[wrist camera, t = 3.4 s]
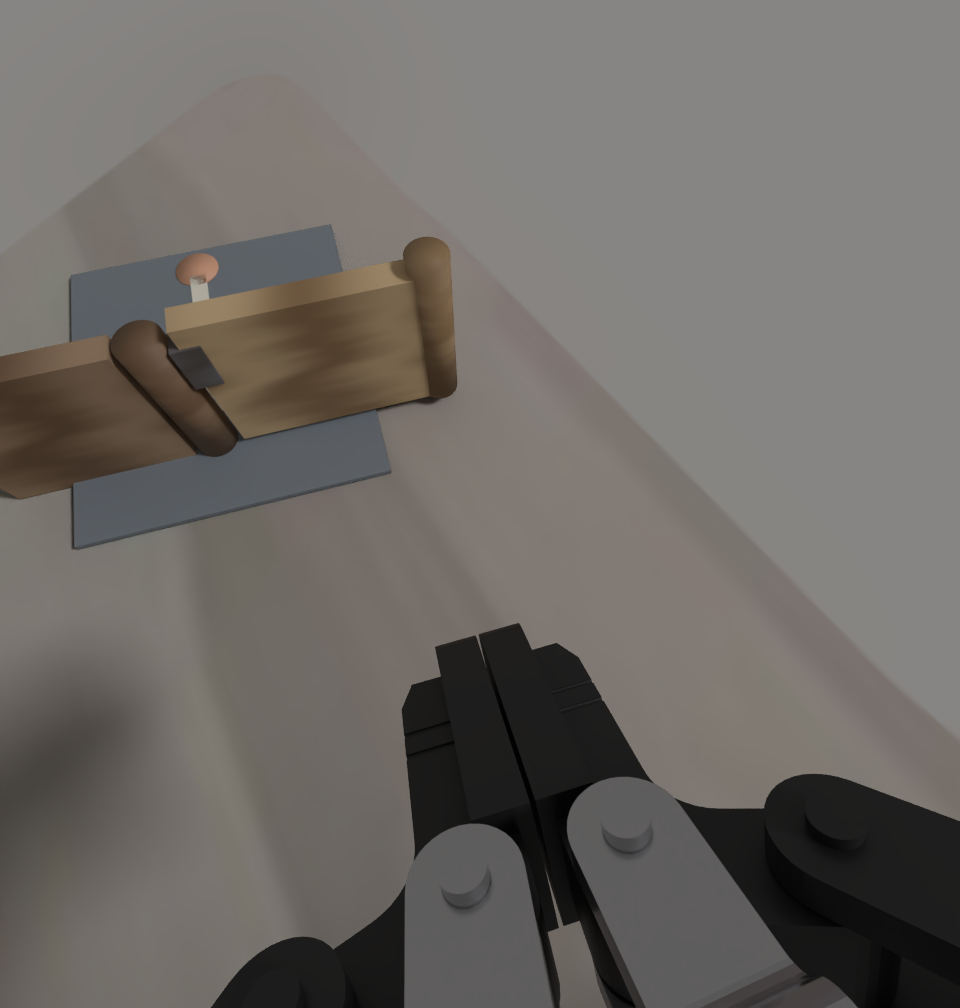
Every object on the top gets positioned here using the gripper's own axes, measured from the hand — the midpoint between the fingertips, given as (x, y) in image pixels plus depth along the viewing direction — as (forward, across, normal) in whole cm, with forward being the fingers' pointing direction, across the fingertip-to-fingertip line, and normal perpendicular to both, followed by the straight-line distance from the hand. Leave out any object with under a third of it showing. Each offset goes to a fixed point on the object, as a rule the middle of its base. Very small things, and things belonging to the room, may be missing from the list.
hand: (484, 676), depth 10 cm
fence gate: (+22, +2, -1) cm, 22 cm away
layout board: (+26, +9, -4) cm, 28 cm away
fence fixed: (+23, +14, -1) cm, 26 cm away
